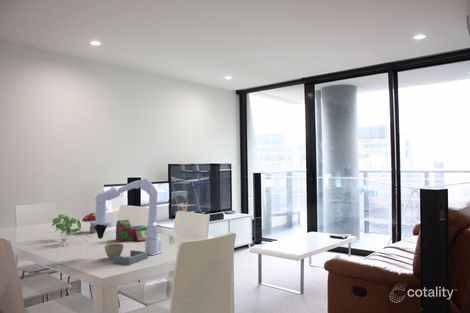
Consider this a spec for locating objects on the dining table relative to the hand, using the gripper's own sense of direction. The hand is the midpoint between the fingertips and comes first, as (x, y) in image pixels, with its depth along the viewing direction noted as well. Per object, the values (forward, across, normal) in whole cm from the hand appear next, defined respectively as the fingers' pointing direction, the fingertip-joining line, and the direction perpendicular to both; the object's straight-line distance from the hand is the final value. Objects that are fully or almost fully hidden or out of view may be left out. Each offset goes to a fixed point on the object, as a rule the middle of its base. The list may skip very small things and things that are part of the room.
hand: (100, 238), depth 210 cm
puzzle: (+11, -12, +48) cm, 51 cm away
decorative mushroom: (+10, -61, +56) cm, 83 cm away
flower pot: (+10, +10, 0) cm, 14 cm away
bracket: (+10, +21, 0) cm, 24 cm away
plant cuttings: (+10, -49, +24) cm, 55 cm away
